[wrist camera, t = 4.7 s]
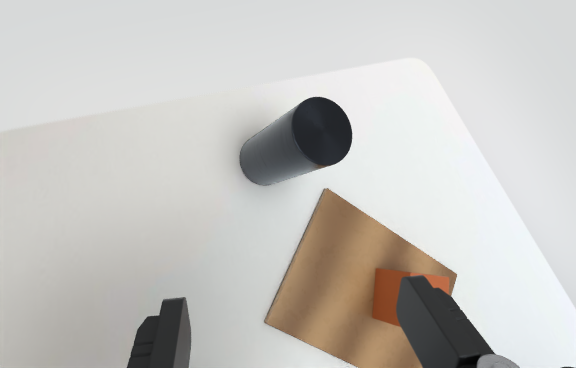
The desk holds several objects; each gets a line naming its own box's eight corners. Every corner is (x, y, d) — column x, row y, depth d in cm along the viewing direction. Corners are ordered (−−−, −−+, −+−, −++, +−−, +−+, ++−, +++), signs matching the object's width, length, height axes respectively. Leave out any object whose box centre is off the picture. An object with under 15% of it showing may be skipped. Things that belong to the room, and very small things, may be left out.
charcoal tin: (230, 168, 33) (280, 140, 23) (254, 126, 35) (309, 82, 25) (273, 194, 34) (336, 178, 25) (294, 153, 36) (361, 122, 26)
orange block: (371, 318, 37) (407, 329, 32) (375, 267, 38) (410, 272, 33) (409, 320, 39) (447, 331, 34) (411, 272, 40) (449, 277, 35)
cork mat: (264, 322, 33) (266, 323, 32) (324, 188, 37) (327, 188, 36) (417, 395, 39) (421, 397, 38) (453, 273, 43) (457, 274, 43)
